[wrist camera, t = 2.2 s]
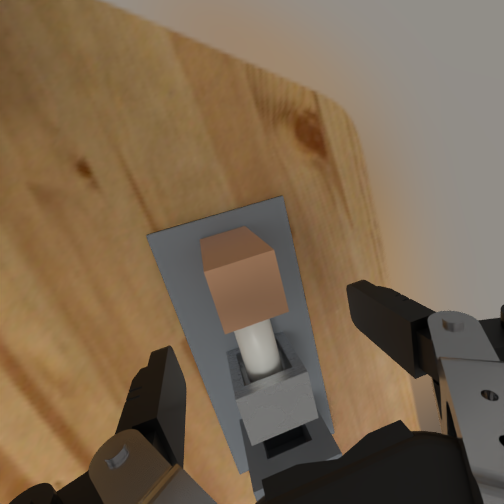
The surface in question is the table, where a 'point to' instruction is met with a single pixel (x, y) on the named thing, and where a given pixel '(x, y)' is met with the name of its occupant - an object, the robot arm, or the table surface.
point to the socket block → (288, 451)
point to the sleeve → (273, 394)
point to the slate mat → (206, 317)
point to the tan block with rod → (246, 295)
